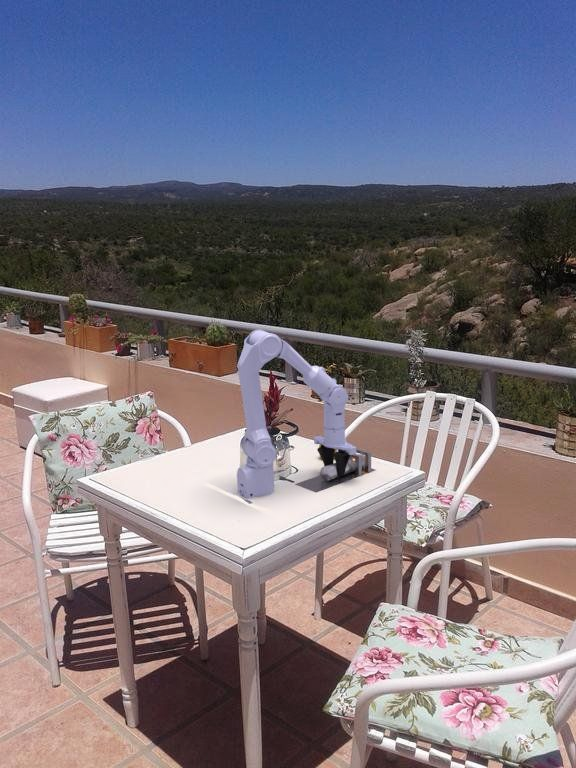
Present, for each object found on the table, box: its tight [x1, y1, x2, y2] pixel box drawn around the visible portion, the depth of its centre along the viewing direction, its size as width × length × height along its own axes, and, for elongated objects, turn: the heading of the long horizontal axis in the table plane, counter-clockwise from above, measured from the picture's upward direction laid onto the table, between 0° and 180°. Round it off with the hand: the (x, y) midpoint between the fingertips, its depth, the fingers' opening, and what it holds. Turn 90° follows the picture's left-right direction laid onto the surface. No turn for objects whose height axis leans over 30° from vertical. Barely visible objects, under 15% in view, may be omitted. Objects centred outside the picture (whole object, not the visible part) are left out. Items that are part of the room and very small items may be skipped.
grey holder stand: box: [294, 447, 376, 493], centre depth 184 cm, size 24×9×7 cm, turn 131°
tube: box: [320, 453, 365, 481], centre depth 186 cm, size 15×4×4 cm, turn 131°
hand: (335, 473), depth 184 cm, fingers closed on tube, 4 cm apart
